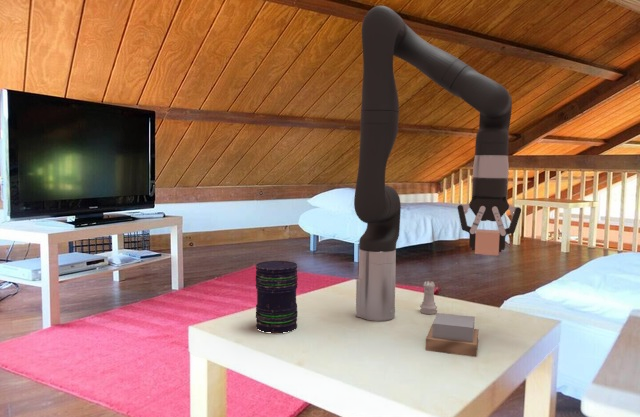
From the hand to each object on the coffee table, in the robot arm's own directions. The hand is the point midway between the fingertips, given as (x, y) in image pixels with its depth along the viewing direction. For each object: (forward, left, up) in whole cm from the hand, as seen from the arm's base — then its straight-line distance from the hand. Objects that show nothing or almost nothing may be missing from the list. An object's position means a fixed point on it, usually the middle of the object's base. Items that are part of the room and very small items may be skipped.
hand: (486, 250), depth 110 cm
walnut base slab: (-6, -11, -20) cm, 23 cm away
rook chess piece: (-14, +11, -19) cm, 26 cm away
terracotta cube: (0, 0, -1) cm, 1 cm away
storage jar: (-46, -14, -19) cm, 52 cm away
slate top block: (-6, -11, -17) cm, 21 cm away
